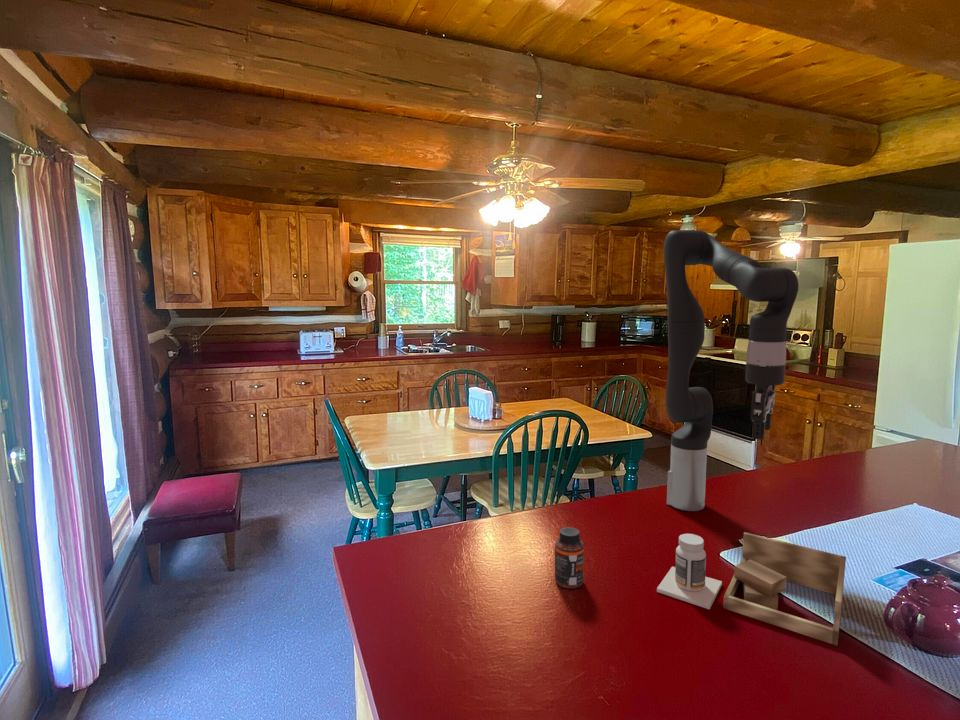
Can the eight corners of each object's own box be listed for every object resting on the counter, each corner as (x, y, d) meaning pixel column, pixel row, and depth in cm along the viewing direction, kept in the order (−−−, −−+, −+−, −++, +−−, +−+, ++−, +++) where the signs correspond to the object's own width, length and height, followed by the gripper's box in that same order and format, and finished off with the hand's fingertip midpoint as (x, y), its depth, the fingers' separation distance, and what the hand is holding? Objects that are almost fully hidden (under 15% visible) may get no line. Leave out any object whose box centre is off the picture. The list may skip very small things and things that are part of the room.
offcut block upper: (770, 596, 98) (771, 584, 98) (734, 577, 105) (734, 565, 104) (785, 588, 100) (786, 577, 100) (749, 570, 107) (749, 559, 107)
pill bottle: (703, 579, 107) (705, 534, 106) (706, 595, 102) (708, 547, 101) (674, 575, 109) (675, 530, 108) (675, 590, 104) (676, 543, 102)
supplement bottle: (581, 592, 105) (581, 540, 103) (552, 587, 107) (552, 535, 105) (585, 577, 110) (586, 527, 109) (558, 572, 113) (558, 523, 111)
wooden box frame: (723, 608, 99) (725, 569, 98) (742, 566, 113) (744, 532, 112) (837, 645, 88) (841, 602, 87) (842, 594, 103) (846, 556, 101)
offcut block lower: (744, 606, 100) (745, 592, 100) (741, 582, 108) (741, 568, 108) (777, 612, 98) (778, 598, 98) (771, 587, 106) (771, 573, 106)
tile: (656, 591, 105) (656, 588, 105) (672, 569, 113) (672, 566, 112) (709, 609, 99) (709, 605, 99) (721, 585, 107) (722, 581, 106)
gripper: (752, 356, 121) (748, 424, 123) (739, 364, 109) (736, 439, 112) (789, 358, 116) (785, 429, 118) (780, 367, 105) (775, 445, 107)
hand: (761, 433), depth 115 cm, fingers open, 8 cm apart
